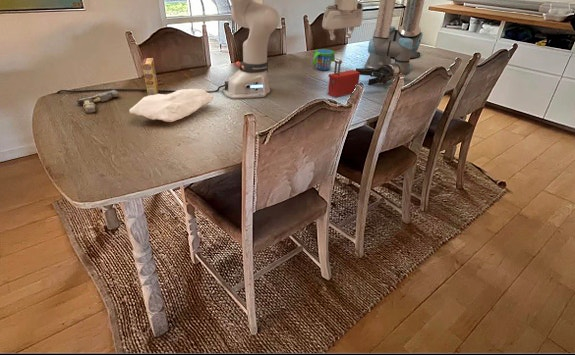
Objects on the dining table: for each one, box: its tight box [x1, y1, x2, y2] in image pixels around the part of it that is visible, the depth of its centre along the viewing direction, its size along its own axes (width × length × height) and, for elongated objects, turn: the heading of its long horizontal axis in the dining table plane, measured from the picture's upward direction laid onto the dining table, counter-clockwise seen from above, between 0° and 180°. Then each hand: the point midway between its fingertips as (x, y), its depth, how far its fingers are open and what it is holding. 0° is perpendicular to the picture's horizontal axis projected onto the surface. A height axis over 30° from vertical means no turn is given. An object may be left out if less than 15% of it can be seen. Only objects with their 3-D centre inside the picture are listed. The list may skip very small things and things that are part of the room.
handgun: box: [76, 90, 120, 114], centre depth 155 cm, size 3×18×15 cm
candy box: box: [141, 57, 160, 96], centre depth 163 cm, size 9×4×15 cm, turn 13°
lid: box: [328, 58, 361, 80], centre depth 171 cm, size 16×5×8 cm, turn 125°
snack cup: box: [312, 48, 336, 71], centre depth 209 cm, size 16×10×10 cm
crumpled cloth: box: [129, 88, 214, 123], centre depth 147 cm, size 24×35×9 cm
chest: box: [327, 75, 361, 98], centre depth 176 cm, size 15×5×9 cm, turn 125°
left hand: (340, 38), depth 162 cm, fingers open, 8 cm apart
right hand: (358, 78), depth 178 cm, fingers open, 13 cm apart
